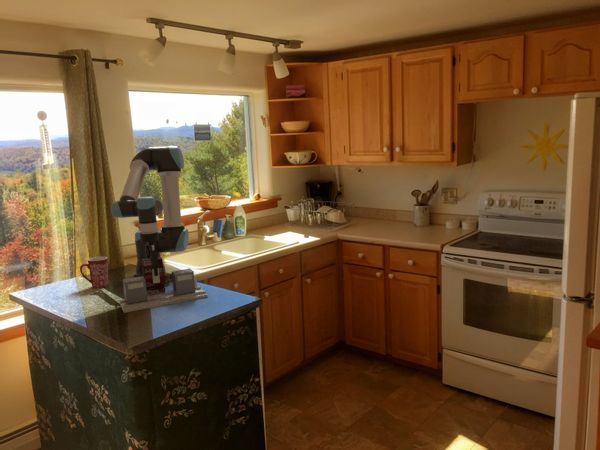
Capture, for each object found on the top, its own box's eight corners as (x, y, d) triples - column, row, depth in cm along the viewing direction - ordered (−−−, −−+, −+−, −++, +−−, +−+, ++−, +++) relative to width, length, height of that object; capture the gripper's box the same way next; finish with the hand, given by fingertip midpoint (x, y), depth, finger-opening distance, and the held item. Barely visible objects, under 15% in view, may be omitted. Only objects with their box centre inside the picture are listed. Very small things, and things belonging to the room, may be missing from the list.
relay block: (182, 288, 229) (181, 276, 228) (192, 286, 232) (191, 273, 231) (186, 291, 225) (185, 278, 224) (197, 288, 228) (196, 275, 227)
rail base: (119, 304, 211) (116, 278, 209) (199, 289, 225) (196, 265, 224) (123, 312, 199) (120, 285, 197) (207, 297, 214) (205, 271, 212)
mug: (109, 282, 248) (105, 255, 246) (112, 286, 240) (108, 258, 238) (81, 286, 242) (77, 259, 240) (83, 291, 234) (79, 263, 232)
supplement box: (146, 296, 220) (142, 261, 217) (144, 293, 224) (140, 259, 222) (166, 293, 224) (162, 258, 221) (164, 290, 228) (160, 256, 225)
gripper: (135, 229, 229) (140, 275, 232) (144, 237, 207) (150, 287, 210) (152, 227, 232) (156, 272, 235) (163, 234, 210) (168, 284, 213)
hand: (153, 279), depth 223 cm, fingers open, 13 cm apart
